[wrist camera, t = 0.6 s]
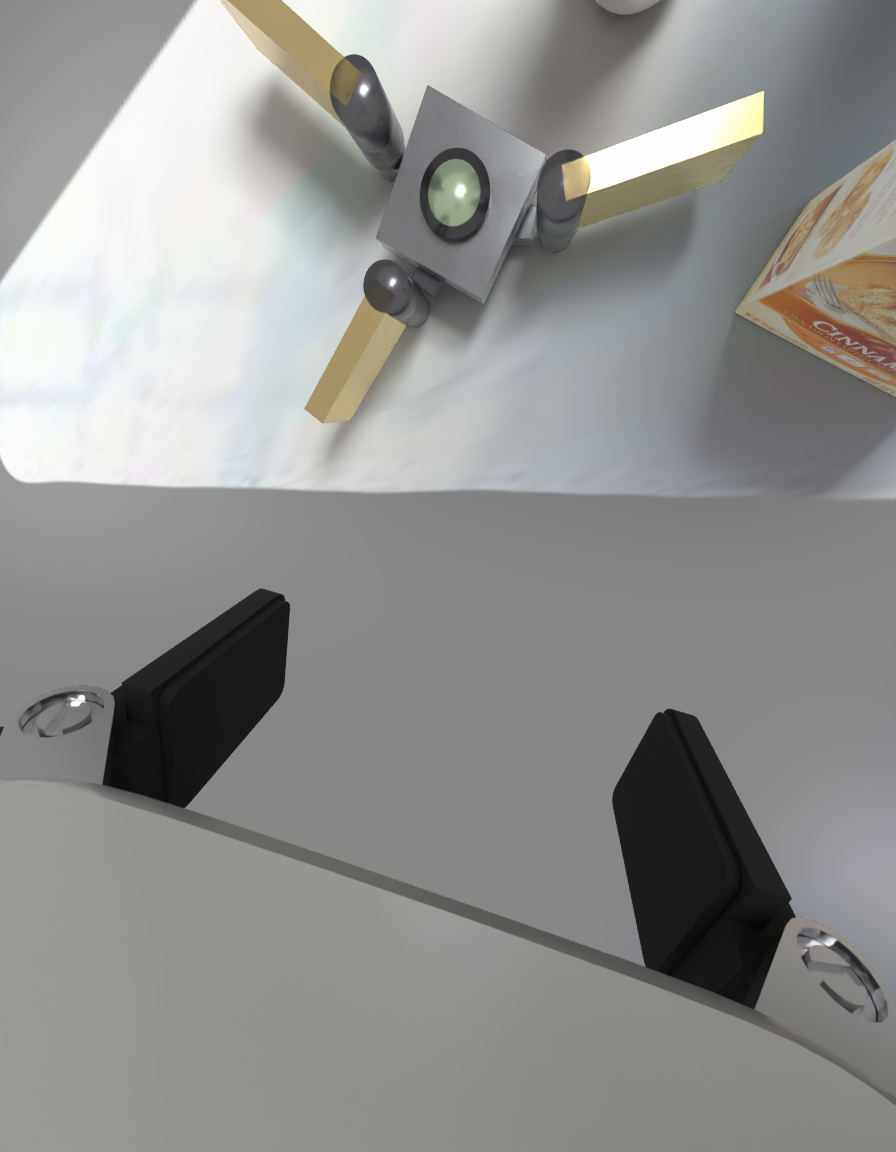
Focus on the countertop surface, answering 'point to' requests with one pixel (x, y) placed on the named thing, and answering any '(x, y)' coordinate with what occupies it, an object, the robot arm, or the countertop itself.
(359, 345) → the tan block
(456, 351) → the countertop surface
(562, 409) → the countertop surface
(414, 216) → the tribrach base
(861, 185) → the coffeecake box
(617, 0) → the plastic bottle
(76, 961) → the robot arm
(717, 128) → the knob
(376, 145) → the brushed brass bar
